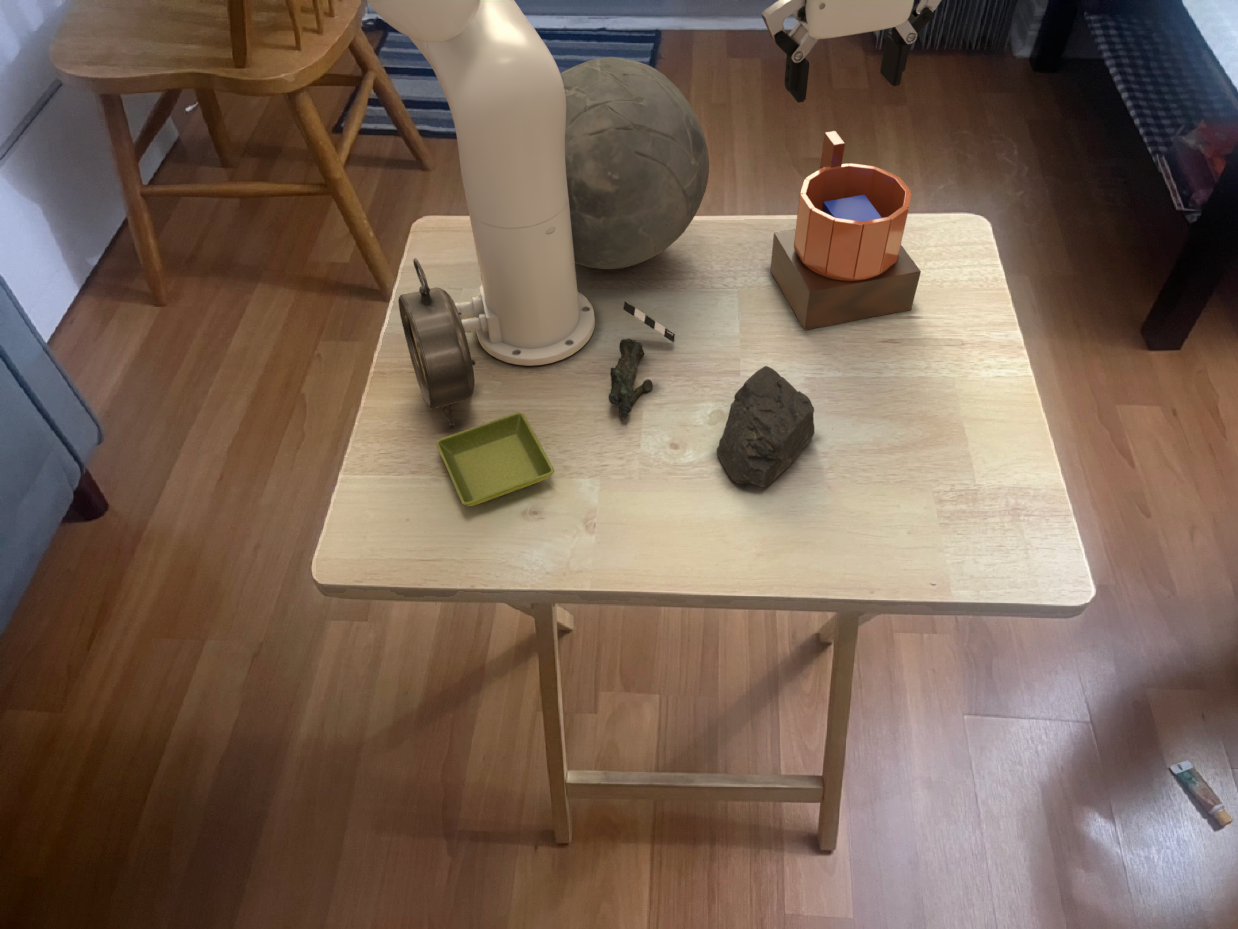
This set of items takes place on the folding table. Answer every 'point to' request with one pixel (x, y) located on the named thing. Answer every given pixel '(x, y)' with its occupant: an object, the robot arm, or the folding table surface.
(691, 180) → the grey scuffed sphere
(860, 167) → the orange stave bucket
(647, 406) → the folding table surface
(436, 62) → the robot arm
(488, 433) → the green rectangular tray
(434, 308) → the alarm clock
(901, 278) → the stand
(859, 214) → the cube
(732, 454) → the rock
